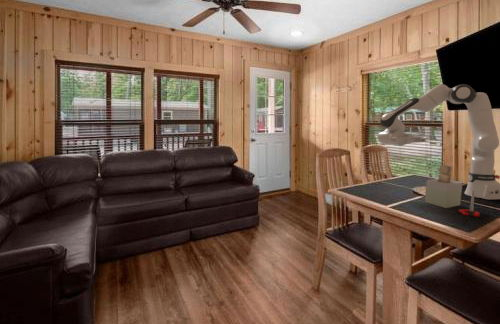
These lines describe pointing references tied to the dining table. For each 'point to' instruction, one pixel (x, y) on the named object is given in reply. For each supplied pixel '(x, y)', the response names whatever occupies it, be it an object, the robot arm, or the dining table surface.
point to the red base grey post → (470, 208)
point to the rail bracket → (445, 173)
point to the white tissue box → (443, 193)
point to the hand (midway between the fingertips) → (419, 140)
